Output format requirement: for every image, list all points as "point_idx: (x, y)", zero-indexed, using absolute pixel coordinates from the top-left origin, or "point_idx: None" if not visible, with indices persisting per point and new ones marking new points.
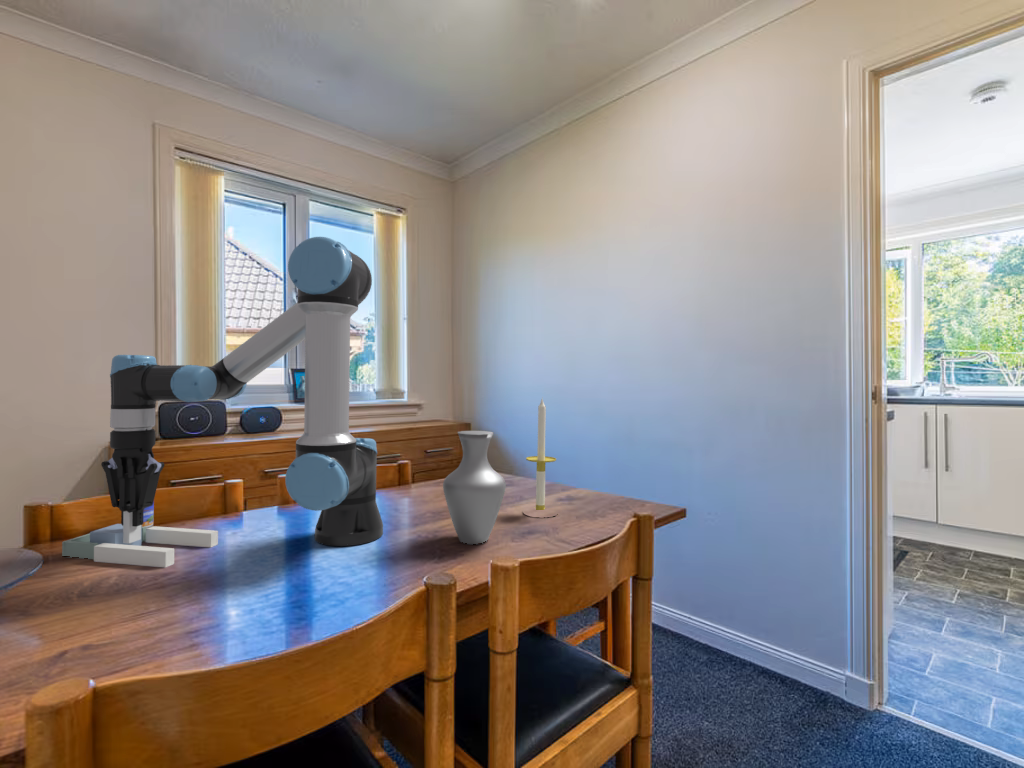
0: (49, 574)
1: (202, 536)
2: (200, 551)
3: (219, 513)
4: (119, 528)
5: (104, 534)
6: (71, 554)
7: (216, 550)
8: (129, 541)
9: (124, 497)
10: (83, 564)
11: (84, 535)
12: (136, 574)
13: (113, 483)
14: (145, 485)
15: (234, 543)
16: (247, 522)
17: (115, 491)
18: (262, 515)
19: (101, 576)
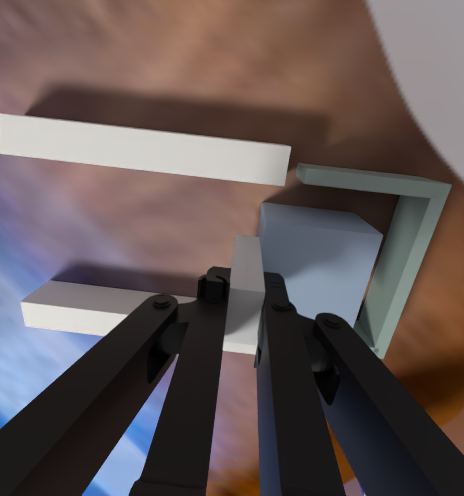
0: (338, 9)
1: (57, 299)
2: (50, 251)
3: (241, 493)
4: (301, 281)
5: (314, 225)
6: (387, 173)
7: (16, 261)
8: (235, 237)
9: (267, 345)
10: (297, 117)
11: (417, 257)
12: (55, 46)
13: (404, 454)
14: (54, 406)
15: (20, 312)
16: (123, 443)
17: (357, 390)
18: (129, 482)
19: (148, 12)
